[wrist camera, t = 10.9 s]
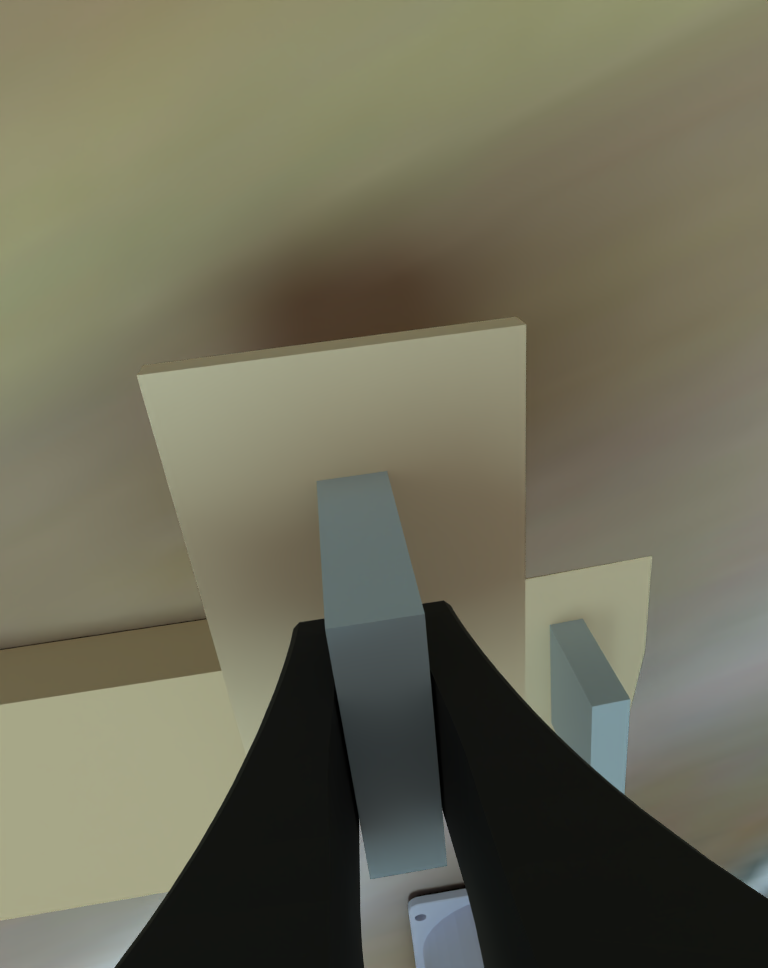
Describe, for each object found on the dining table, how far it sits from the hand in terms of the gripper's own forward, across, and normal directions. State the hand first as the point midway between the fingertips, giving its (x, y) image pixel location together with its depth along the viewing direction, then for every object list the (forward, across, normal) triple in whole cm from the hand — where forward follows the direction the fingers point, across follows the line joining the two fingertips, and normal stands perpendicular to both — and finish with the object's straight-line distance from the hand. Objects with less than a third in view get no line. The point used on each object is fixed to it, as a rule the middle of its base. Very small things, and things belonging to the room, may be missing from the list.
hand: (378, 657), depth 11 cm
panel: (+9, +8, +11) cm, 17 cm away
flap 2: (+10, -7, +11) cm, 16 cm away
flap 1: (+2, 0, 0) cm, 2 cm away
